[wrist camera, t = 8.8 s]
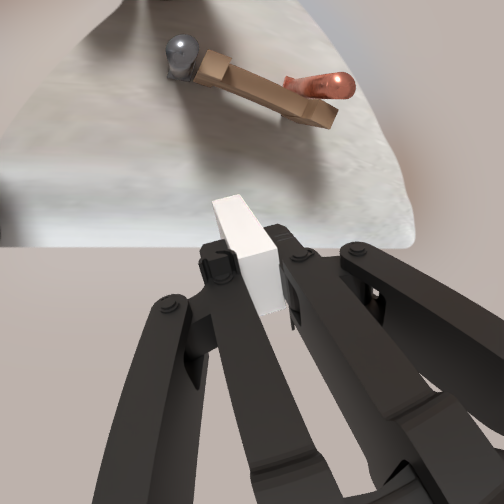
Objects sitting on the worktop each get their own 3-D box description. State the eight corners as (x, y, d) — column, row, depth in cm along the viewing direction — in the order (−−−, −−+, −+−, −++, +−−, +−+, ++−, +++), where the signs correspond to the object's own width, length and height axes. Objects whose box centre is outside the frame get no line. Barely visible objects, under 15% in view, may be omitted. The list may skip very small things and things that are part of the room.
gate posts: (167, 77, 30) (160, 61, 19) (175, 49, 29) (173, 20, 18) (297, 109, 36) (349, 114, 24) (305, 83, 34) (359, 78, 23)
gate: (290, 121, 36) (329, 129, 26) (192, 81, 31) (197, 70, 22) (297, 107, 35) (338, 109, 26) (200, 65, 30) (208, 48, 21)
